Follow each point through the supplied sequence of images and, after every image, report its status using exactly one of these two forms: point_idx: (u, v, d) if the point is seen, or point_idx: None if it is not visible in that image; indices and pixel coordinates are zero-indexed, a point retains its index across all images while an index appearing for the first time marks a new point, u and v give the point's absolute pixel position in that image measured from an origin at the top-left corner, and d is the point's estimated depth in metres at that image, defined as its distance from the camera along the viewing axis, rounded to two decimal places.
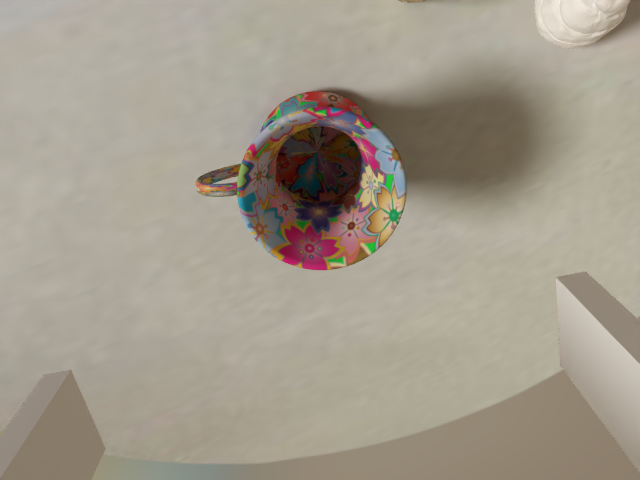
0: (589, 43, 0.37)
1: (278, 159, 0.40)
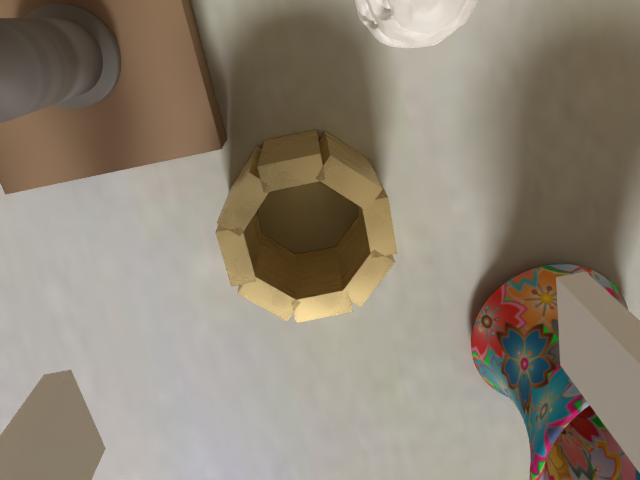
0: None
1: None
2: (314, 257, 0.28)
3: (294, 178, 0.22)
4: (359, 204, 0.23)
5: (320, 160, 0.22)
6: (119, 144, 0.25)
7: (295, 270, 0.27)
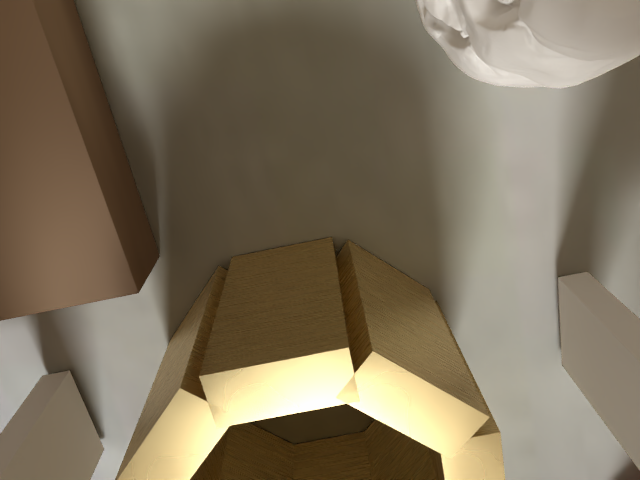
0: None
1: None
2: (326, 460, 0.15)
3: (287, 399, 0.10)
4: (434, 447, 0.10)
5: (348, 362, 0.09)
6: None
7: None
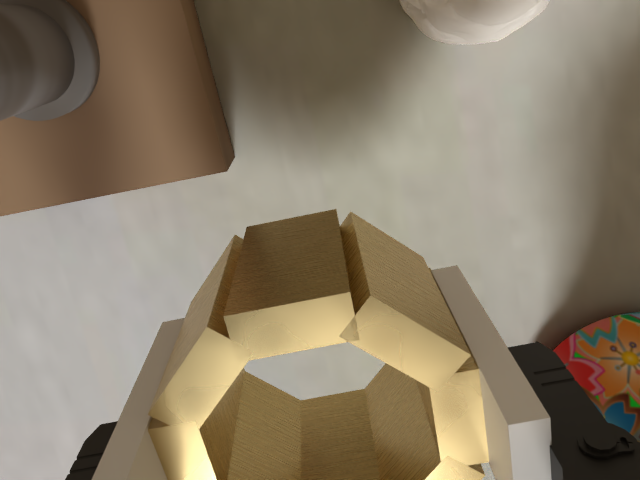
0: None
1: None
2: (330, 412, 0.17)
3: (297, 337, 0.11)
4: (424, 381, 0.12)
5: (350, 305, 0.11)
6: (99, 164, 0.20)
7: (299, 444, 0.16)
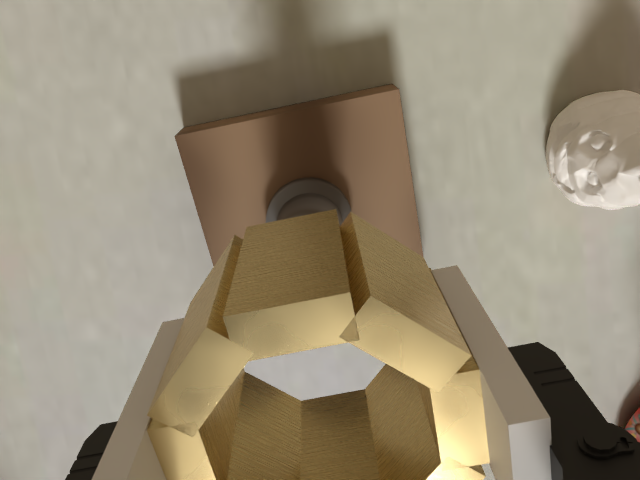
0: None
1: None
2: (330, 413, 0.17)
3: (297, 337, 0.11)
4: (424, 382, 0.12)
5: (350, 305, 0.11)
6: None
7: (299, 445, 0.16)
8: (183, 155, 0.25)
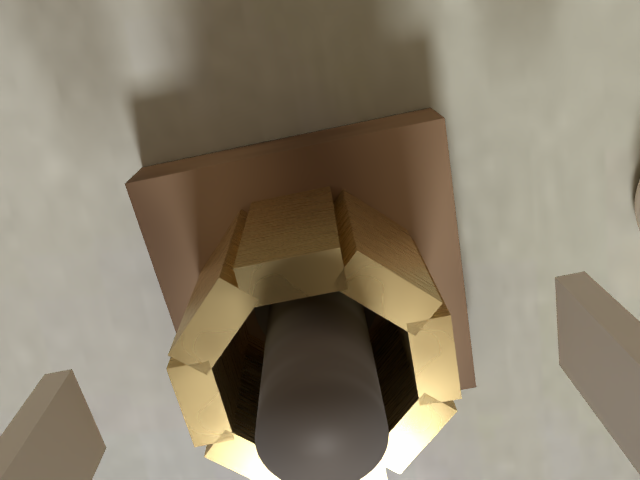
0: None
1: None
2: None
3: (296, 287, 0.13)
4: (403, 326, 0.14)
5: (340, 258, 0.13)
6: None
7: None
8: (138, 209, 0.18)
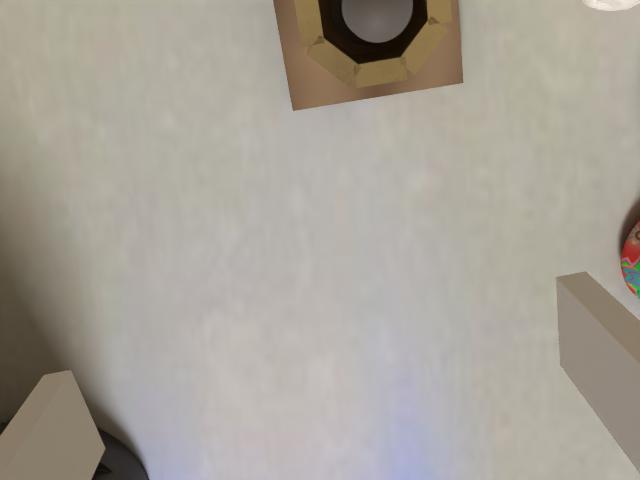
0: None
1: None
2: (369, 54, 0.31)
3: None
4: None
5: None
6: None
7: (353, 58, 0.30)
8: None
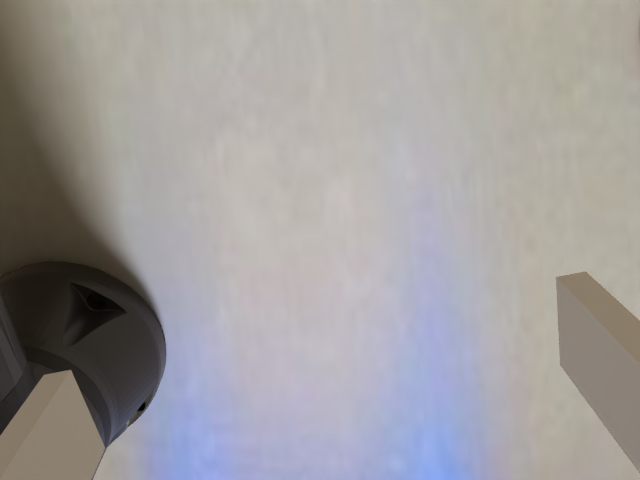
0: None
1: None
2: None
3: None
4: None
5: None
6: None
7: None
8: None
